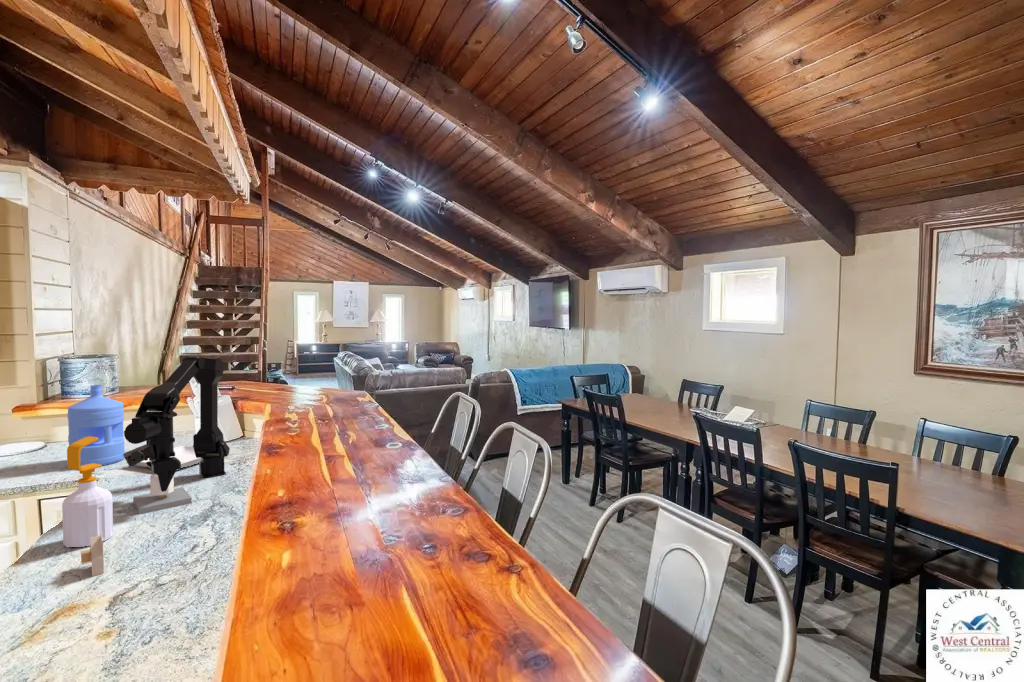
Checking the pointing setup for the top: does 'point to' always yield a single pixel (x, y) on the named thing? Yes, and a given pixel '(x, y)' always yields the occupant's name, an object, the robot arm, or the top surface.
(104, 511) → the soap bottle
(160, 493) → the cap
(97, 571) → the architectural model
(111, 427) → the water jug
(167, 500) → the post base
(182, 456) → the salad plate
